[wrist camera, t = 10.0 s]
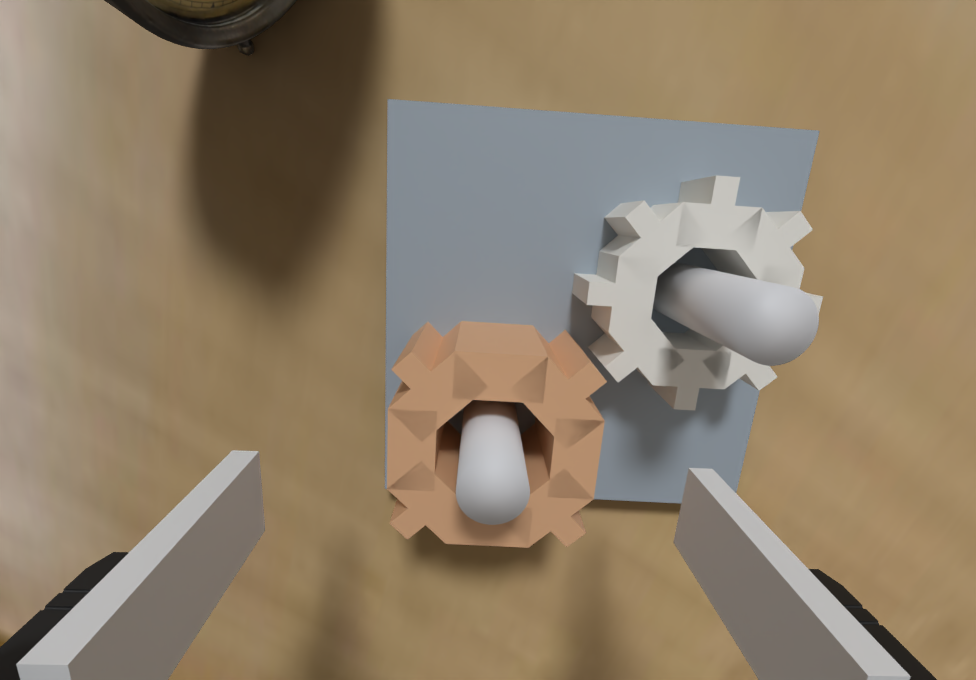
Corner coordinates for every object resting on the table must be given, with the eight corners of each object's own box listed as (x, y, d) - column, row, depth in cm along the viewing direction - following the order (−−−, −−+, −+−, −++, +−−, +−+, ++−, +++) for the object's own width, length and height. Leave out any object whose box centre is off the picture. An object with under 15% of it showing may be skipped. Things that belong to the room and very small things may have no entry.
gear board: (390, 472, 24) (340, 612, 16) (394, 108, 20) (326, 20, 11) (718, 489, 25) (844, 633, 16) (795, 137, 20) (1028, 74, 12)
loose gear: (406, 473, 23) (386, 540, 18) (410, 317, 21) (388, 347, 16) (564, 481, 23) (586, 550, 18) (583, 328, 21) (613, 360, 16)
